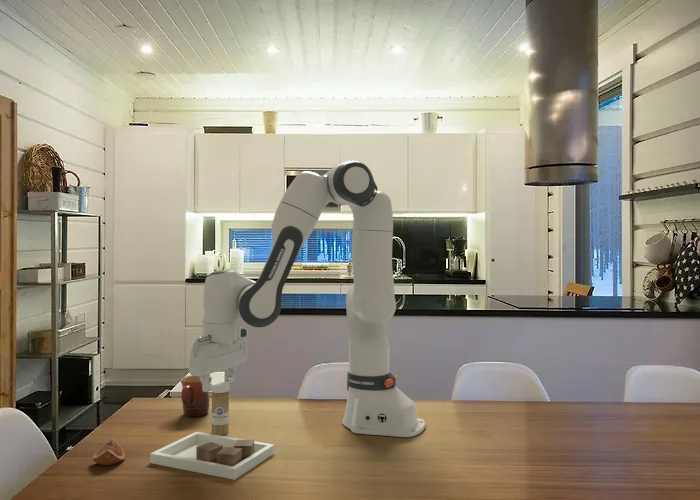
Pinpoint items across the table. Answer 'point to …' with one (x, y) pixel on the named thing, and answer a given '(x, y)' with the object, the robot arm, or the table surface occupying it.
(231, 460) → the cube
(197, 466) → the tray
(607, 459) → the table surface
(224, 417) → the sprinkles bottle
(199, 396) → the mug
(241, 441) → the cube
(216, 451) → the cube
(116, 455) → the fruit slice
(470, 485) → the table surface
